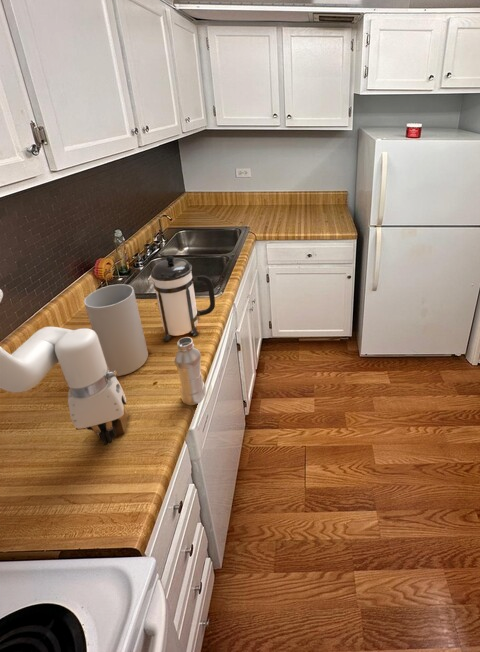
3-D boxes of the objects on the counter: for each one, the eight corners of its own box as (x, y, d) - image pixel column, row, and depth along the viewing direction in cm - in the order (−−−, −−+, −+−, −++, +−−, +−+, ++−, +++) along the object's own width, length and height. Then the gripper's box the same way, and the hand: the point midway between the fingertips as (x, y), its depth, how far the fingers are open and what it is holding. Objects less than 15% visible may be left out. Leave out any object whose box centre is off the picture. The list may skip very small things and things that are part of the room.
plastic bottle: (188, 388, 96) (178, 332, 89) (210, 390, 96) (202, 334, 88) (177, 407, 90) (165, 349, 83) (201, 409, 90) (191, 351, 82)
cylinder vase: (129, 344, 113) (113, 281, 104) (157, 354, 109) (143, 288, 100) (94, 370, 102) (73, 302, 93) (124, 382, 98) (105, 311, 89)
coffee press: (179, 350, 111) (165, 271, 100) (150, 333, 119) (134, 258, 108) (219, 323, 125) (210, 251, 114) (190, 309, 132) (180, 241, 122)
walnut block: (101, 440, 82) (96, 425, 80) (106, 423, 86) (101, 408, 84) (124, 434, 83) (120, 419, 81) (127, 417, 87) (123, 403, 86)
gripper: (130, 361, 79) (145, 416, 86) (56, 377, 75) (78, 435, 81) (124, 384, 73) (141, 442, 79) (43, 404, 68) (68, 464, 75)
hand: (109, 438), depth 80 cm, fingers closed
